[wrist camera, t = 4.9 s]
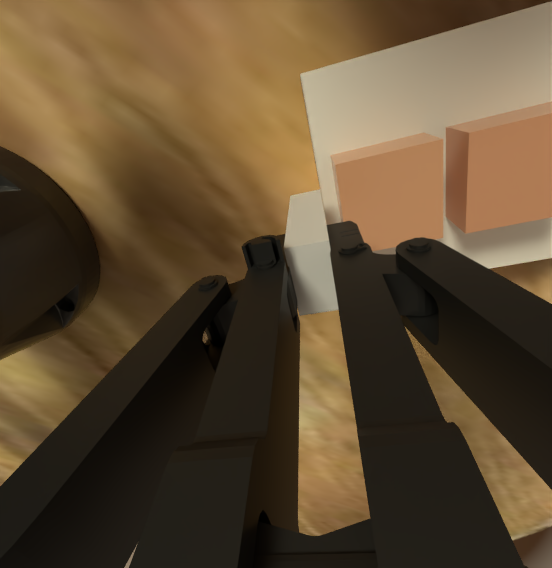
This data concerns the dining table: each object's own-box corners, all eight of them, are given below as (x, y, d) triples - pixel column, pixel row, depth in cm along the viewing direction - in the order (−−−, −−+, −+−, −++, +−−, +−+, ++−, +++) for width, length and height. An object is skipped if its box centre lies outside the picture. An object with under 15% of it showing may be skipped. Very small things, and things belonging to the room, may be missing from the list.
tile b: (445, 216, 18) (465, 233, 16) (445, 127, 16) (468, 132, 14) (537, 198, 17) (571, 213, 15) (550, 101, 15) (593, 103, 13)
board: (333, 265, 24) (339, 294, 21) (300, 76, 19) (300, 73, 15) (529, 228, 22) (572, 254, 19) (560, 1, 16) (630, -22, 13)
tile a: (342, 237, 19) (348, 255, 17) (330, 155, 17) (334, 164, 15) (426, 220, 18) (443, 237, 16) (423, 132, 16) (443, 138, 14)
